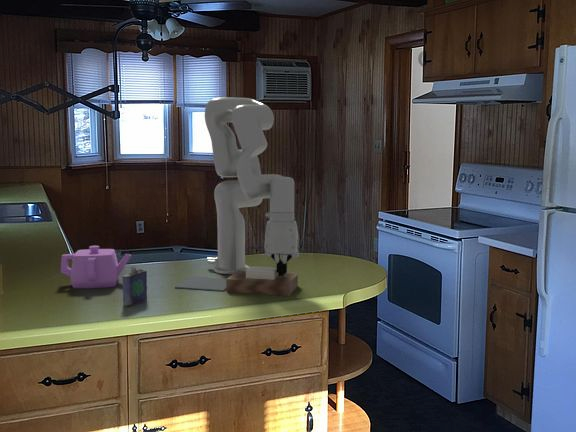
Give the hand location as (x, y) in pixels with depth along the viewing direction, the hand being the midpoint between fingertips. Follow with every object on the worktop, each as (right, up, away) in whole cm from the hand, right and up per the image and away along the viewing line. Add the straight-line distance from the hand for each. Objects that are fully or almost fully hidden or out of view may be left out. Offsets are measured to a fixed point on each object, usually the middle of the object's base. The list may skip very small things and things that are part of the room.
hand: (281, 274), depth 206 cm
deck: (-6, -5, +2) cm, 8 cm away
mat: (-24, -4, +7) cm, 26 cm away
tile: (-6, -1, +1) cm, 6 cm away
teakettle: (-60, -4, +8) cm, 61 cm away
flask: (-43, -7, -14) cm, 45 cm away
